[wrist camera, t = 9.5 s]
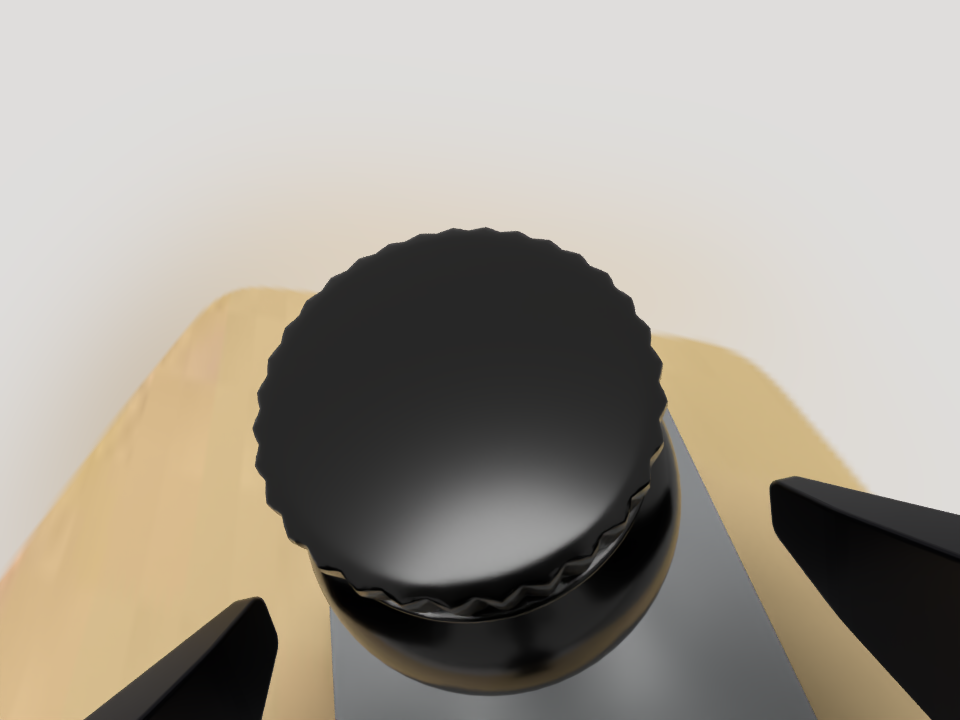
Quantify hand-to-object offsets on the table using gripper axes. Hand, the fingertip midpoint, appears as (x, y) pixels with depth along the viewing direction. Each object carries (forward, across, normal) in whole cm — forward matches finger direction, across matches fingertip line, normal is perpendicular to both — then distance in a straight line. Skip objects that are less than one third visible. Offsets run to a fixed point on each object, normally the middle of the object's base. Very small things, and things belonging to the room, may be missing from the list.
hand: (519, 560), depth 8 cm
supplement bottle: (+7, 0, +4) cm, 8 cm away
